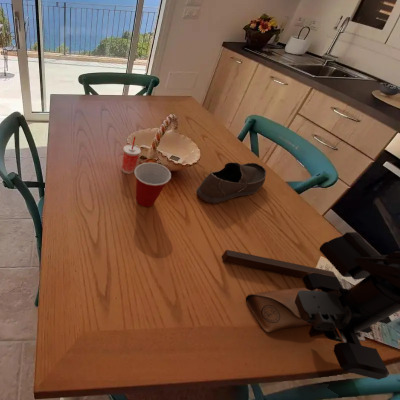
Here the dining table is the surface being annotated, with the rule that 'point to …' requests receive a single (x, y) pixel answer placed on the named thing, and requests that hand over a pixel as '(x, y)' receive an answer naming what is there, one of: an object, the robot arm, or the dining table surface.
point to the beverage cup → (130, 158)
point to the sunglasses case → (276, 309)
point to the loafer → (232, 182)
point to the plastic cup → (150, 182)
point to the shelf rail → (270, 265)
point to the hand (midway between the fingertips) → (311, 335)
